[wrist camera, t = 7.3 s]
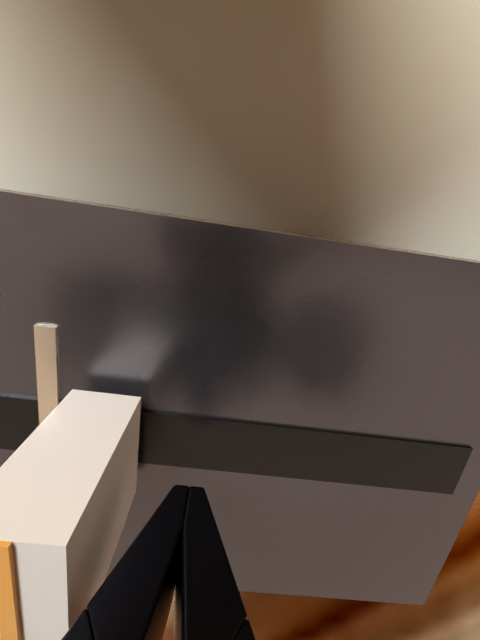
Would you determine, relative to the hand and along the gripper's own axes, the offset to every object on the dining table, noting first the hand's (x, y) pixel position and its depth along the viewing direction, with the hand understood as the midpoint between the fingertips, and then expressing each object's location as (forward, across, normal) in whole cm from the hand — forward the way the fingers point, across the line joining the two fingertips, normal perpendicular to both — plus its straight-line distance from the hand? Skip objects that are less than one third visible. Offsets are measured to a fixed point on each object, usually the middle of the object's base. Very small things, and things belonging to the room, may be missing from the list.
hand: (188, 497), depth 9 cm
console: (+4, 0, 0) cm, 4 cm away
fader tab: (+2, +3, 0) cm, 3 cm away
